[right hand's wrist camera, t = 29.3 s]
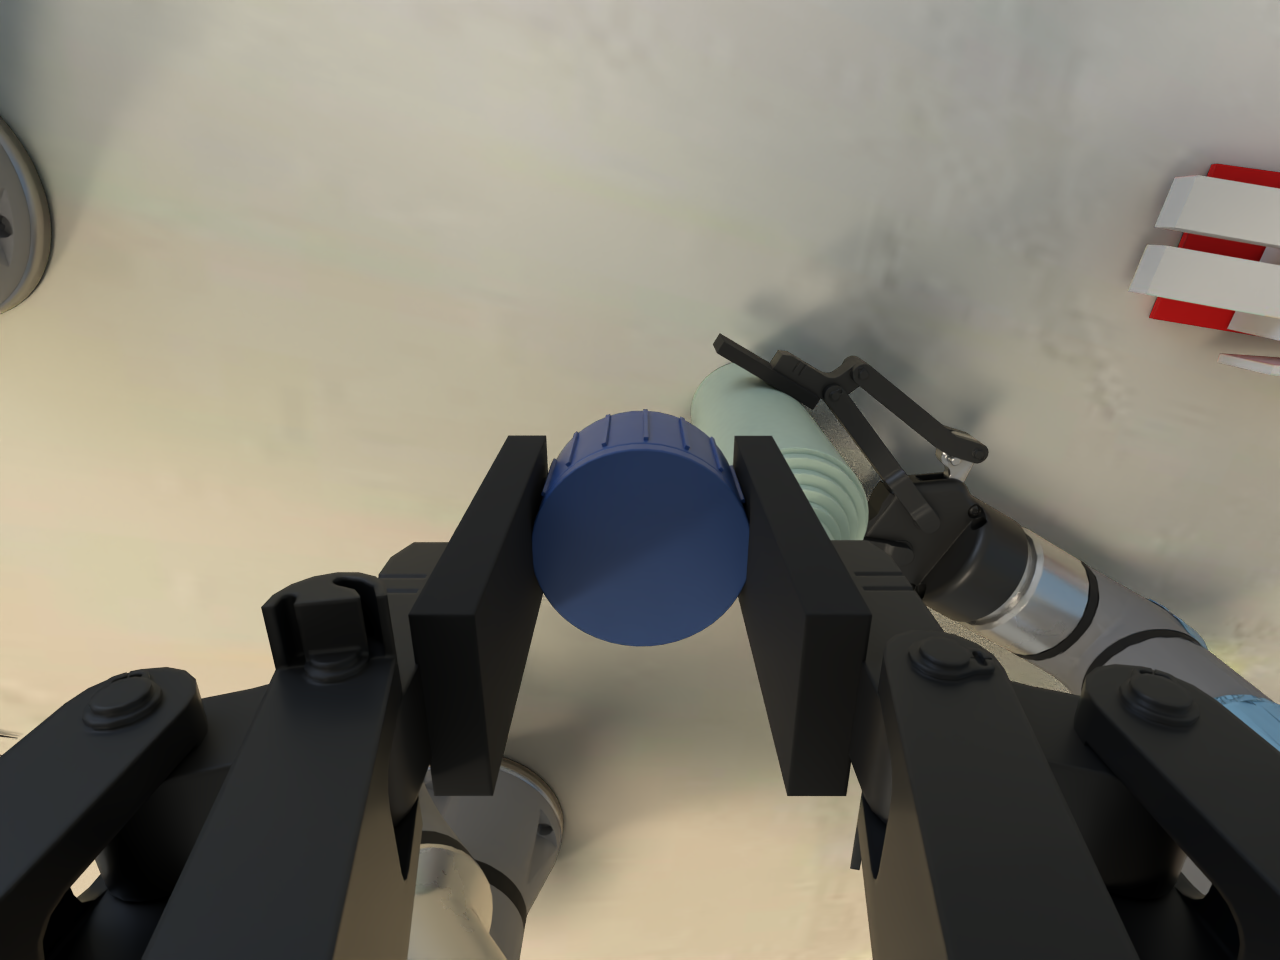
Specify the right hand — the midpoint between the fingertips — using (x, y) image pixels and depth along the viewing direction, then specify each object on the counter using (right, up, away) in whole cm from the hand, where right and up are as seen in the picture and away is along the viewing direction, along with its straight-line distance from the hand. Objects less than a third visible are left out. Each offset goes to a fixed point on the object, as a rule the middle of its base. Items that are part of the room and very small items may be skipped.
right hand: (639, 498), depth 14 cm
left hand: (+3, +5, +27) cm, 28 cm away
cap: (0, -1, -2) cm, 2 cm away
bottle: (+7, +5, +34) cm, 35 cm away
